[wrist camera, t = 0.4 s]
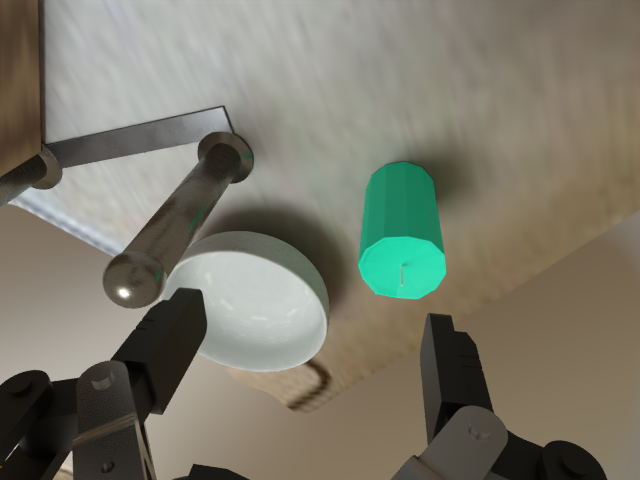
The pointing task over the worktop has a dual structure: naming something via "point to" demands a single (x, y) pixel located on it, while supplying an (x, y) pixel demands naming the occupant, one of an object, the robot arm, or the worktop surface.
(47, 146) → the gate posts
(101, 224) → the worktop surface
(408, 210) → the candle
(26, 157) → the gate
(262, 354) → the cereal bowl
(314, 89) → the worktop surface
